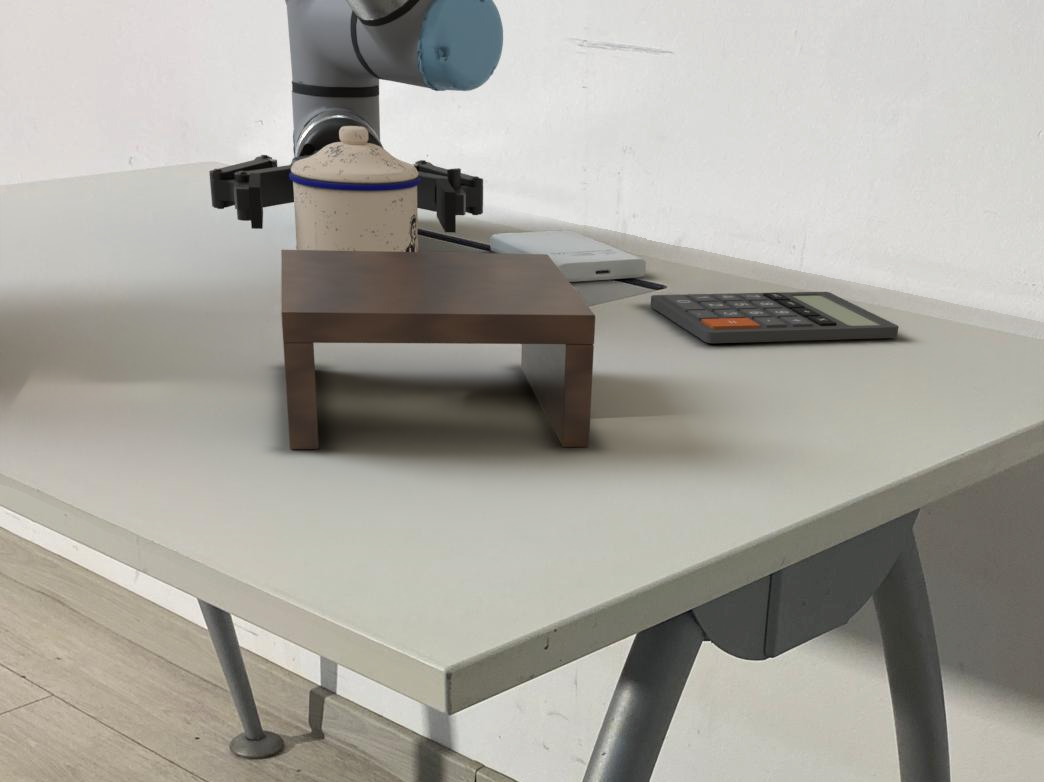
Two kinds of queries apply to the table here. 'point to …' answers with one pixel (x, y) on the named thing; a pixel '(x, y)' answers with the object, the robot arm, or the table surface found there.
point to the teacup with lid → (355, 198)
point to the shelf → (439, 321)
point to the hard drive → (572, 254)
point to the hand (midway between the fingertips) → (354, 210)
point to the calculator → (771, 317)
